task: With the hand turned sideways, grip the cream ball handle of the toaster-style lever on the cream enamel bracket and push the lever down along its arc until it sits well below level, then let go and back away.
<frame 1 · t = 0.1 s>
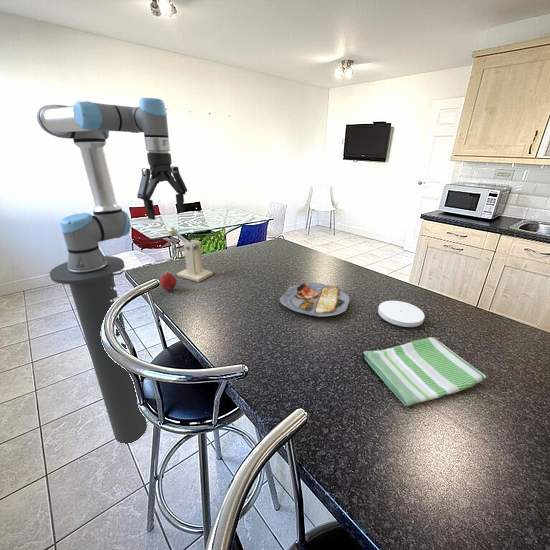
hand: (167, 215, 106), 27 cm above the kitchen island, tool pointing down, fingers open, 13 cm apart
onion: (169, 291, 111), on the kitchen island
plastic lid: (399, 318, 97), on the kitchen island
food plate: (314, 303, 105), on the kitchen island
dish towel: (420, 371, 74), on the kitchen island
bracket: (195, 275, 124), on the kitchen island
lever: (182, 238, 120), point 15 cm above the kitchen island, hinge at 25.0°
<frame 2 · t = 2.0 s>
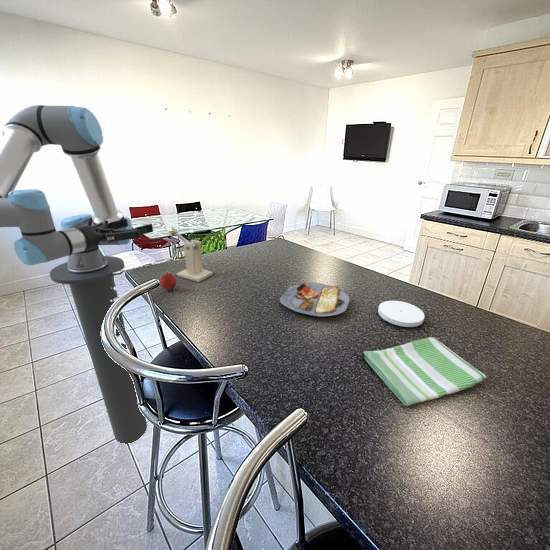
hand: (139, 225, 107), 24 cm above the kitchen island, tool horizontal, fingers open, 13 cm apart
nothing on the kitchen island moved.
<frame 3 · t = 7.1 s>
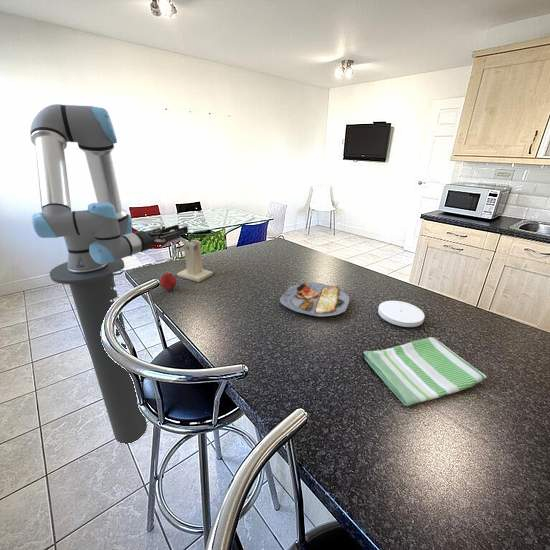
hand: (182, 228, 126), 18 cm above the kitchen island, tool horizontal, fingers closed on lever, 4 cm apart
lever: (182, 239, 121), point 15 cm above the kitchen island, hinge at 18.8°, touching gripper
everything else where it was.
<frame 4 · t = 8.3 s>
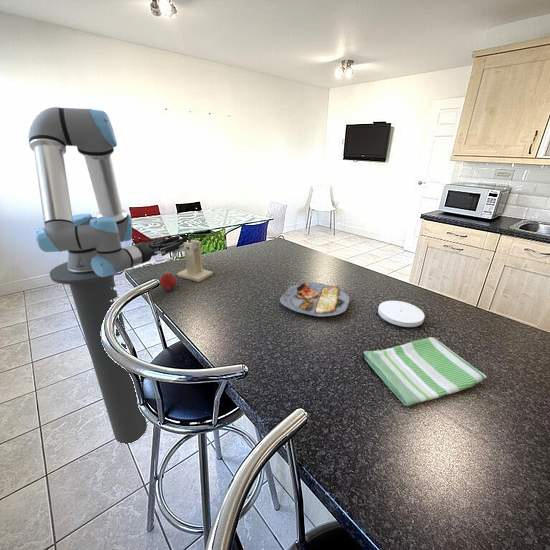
hand: (182, 239, 128), 13 cm above the kitchen island, tool horizontal, fingers open, 4 cm apart
lever: (182, 247, 122), point 11 cm above the kitchen island, hinge at -15.7°, touching gripper
everything else where it was.
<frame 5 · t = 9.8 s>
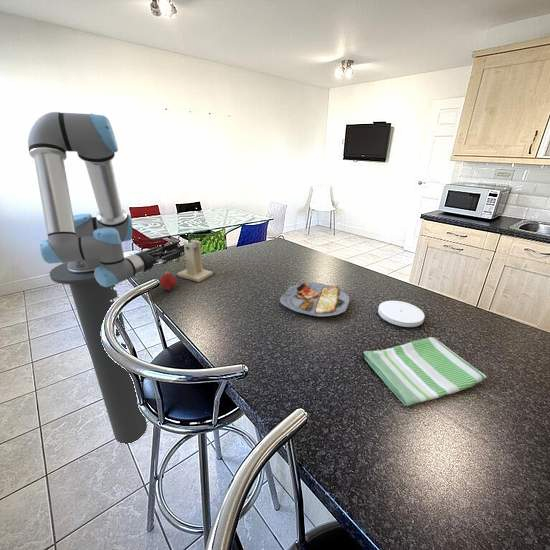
hand: (182, 246, 129), 10 cm above the kitchen island, tool horizontal, fingers open, 5 cm apart
lever: (185, 252, 122), point 9 cm above the kitchen island, hinge at -39.6°, touching gripper
everything else where it was.
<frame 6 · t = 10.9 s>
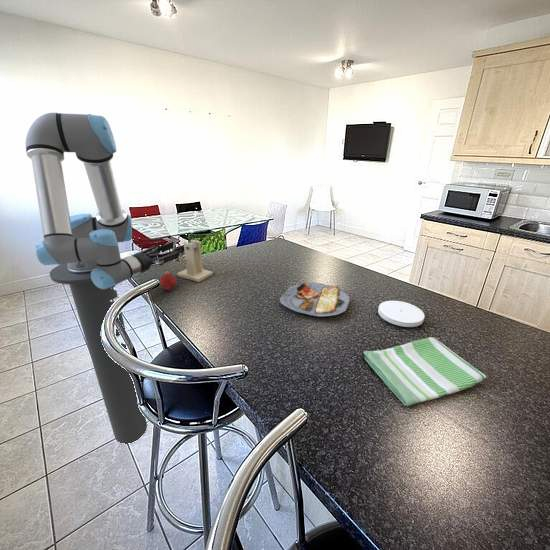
hand: (178, 246, 128), 10 cm above the kitchen island, tool horizontal, fingers open, 6 cm apart
lever: (185, 252, 122), point 10 cm above the kitchen island, hinge at -37.7°, touching gripper
everything else where it was.
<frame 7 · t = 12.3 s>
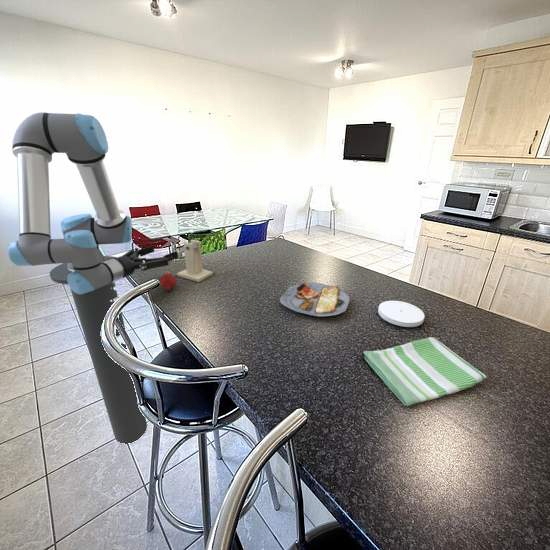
hand: (164, 251, 120), 10 cm above the kitchen island, tool horizontal, fingers open, 13 cm apart
lever: (184, 250, 122), point 10 cm above the kitchen island, hinge at -30.4°
everything else where it was.
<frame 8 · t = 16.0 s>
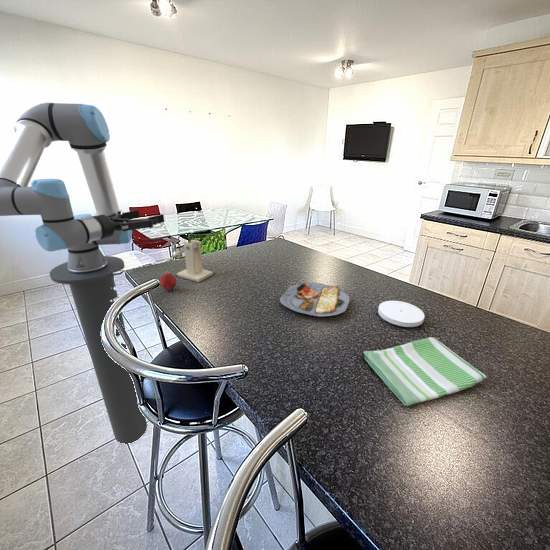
hand: (150, 215, 110), 26 cm above the kitchen island, tool horizontal, fingers open, 13 cm apart
nothing on the kitchen island moved.
at the end: lever at -30° (first picture: +25°); the gripper is holding nothing; onion moved 0.2 cm from its start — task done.
